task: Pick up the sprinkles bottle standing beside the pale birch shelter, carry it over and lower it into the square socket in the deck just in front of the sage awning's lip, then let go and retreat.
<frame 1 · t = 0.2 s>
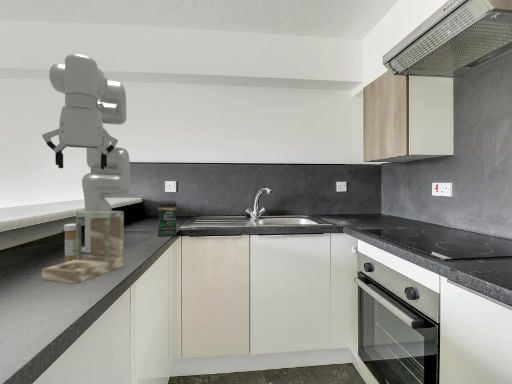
hand: (82, 168, 78), 31 cm above the counter, tool pointing down, fingers open, 9 cm apart
sprinkles bottle: (72, 264, 97), on the counter
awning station: (88, 271, 89), on the counter
coffee jar: (167, 235, 154), on the counter
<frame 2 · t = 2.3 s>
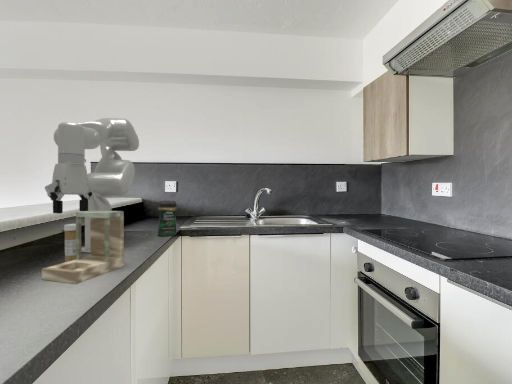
hand: (71, 212, 96), 17 cm above the counter, tool pointing down, fingers open, 9 cm apart
nothing on the counter moved.
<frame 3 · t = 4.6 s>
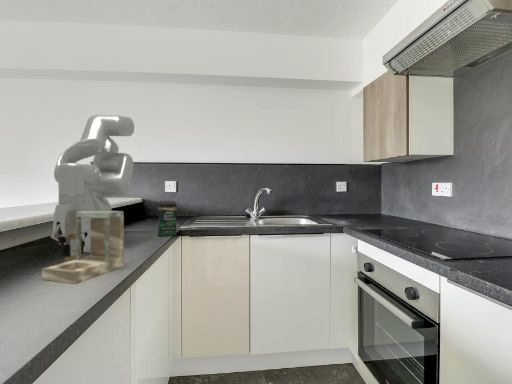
hand: (72, 254, 97), 3 cm above the counter, tool pointing down, fingers closed on sprinkles bottle, 4 cm apart
sprinkles bottle: (72, 264, 97), on the counter, touching gripper
everything else where it was.
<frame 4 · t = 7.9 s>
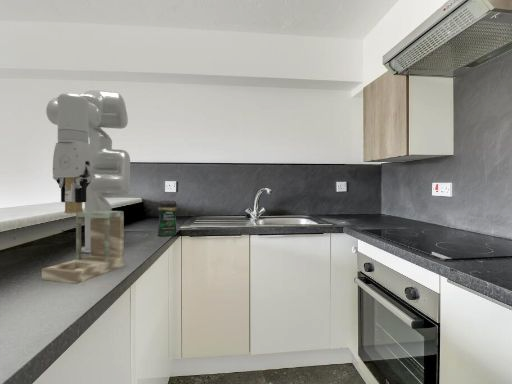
hand: (73, 201, 83), 22 cm above the counter, tool pointing down, fingers closed on sprinkles bottle, 4 cm apart
sprinkles bottle: (74, 213, 83), point 18 cm above the counter, touching gripper
everything else where it was.
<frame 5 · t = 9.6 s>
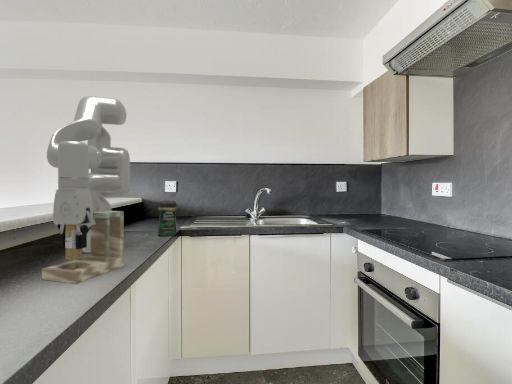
hand: (74, 247, 84), 9 cm above the counter, tool pointing down, fingers closed on sprinkles bottle, 4 cm apart
sprinkles bottle: (74, 259, 84), point 5 cm above the counter, touching gripper
everything else where it was.
when the fingers open (4 cm above the counter, at t = 11.2 s): sprinkles bottle stays where it is, resting in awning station.
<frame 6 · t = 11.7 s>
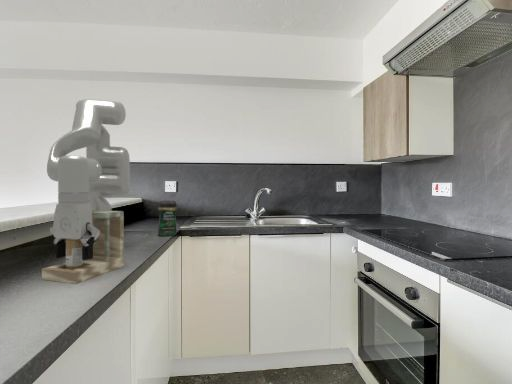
hand: (74, 258, 84), 5 cm above the counter, tool pointing down, fingers open, 9 cm apart
sprinkles bottle: (74, 276, 84), resting in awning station
everything else where it was.
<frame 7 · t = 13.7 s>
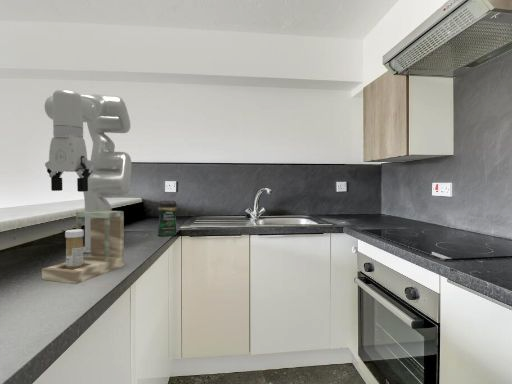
hand: (69, 191, 87), 25 cm above the counter, tool pointing down, fingers open, 9 cm apart
nothing on the counter moved.
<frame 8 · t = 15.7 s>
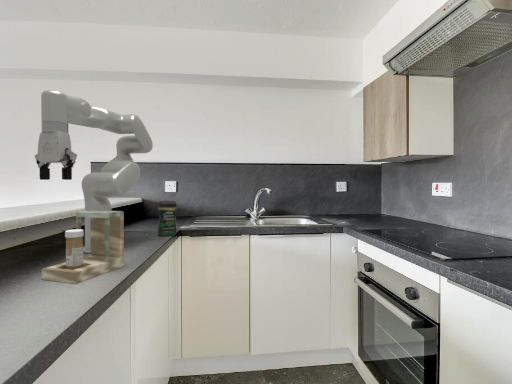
hand: (55, 179, 98), 28 cm above the counter, tool pointing down, fingers open, 9 cm apart
nothing on the counter moved.
at the end: sprinkles bottle 0.2 cm from the target spot on the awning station, point 0.0 cm above the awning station's base; sprinkles bottle tilted 0°; the gripper is holding nothing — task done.
